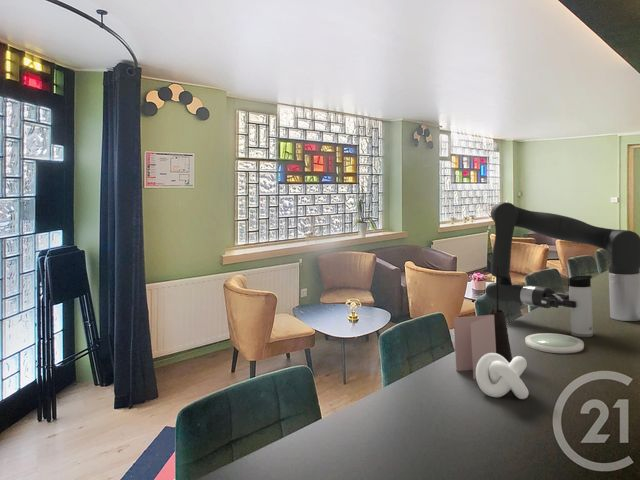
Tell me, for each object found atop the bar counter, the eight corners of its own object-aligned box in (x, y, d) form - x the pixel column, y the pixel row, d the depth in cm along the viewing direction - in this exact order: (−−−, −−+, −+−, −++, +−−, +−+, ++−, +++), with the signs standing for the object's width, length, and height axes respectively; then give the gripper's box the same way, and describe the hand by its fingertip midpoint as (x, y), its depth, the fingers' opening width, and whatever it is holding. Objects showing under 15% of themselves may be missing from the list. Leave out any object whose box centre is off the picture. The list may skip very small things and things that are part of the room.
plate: (521, 336, 136) (521, 332, 136) (575, 338, 131) (575, 333, 131) (530, 352, 121) (529, 347, 121) (591, 354, 116) (590, 349, 116)
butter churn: (482, 352, 124) (477, 263, 122) (516, 354, 120) (512, 262, 119) (483, 363, 115) (478, 267, 114) (520, 365, 112) (515, 266, 110)
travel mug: (597, 337, 130) (595, 276, 129) (575, 337, 132) (572, 277, 131) (588, 332, 136) (586, 274, 136) (567, 332, 138) (565, 275, 137)
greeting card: (495, 366, 112) (492, 313, 111) (508, 376, 105) (505, 320, 104) (455, 369, 112) (452, 317, 111) (465, 380, 104) (462, 323, 104)
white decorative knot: (546, 403, 89) (544, 364, 89) (495, 409, 88) (493, 369, 88) (517, 383, 100) (516, 348, 100) (471, 388, 100) (469, 352, 99)
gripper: (524, 289, 144) (570, 294, 129) (548, 283, 150) (594, 288, 136) (525, 309, 144) (571, 317, 130) (549, 303, 151) (595, 310, 136)
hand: (583, 302), depth 133 cm, fingers open, 8 cm apart
